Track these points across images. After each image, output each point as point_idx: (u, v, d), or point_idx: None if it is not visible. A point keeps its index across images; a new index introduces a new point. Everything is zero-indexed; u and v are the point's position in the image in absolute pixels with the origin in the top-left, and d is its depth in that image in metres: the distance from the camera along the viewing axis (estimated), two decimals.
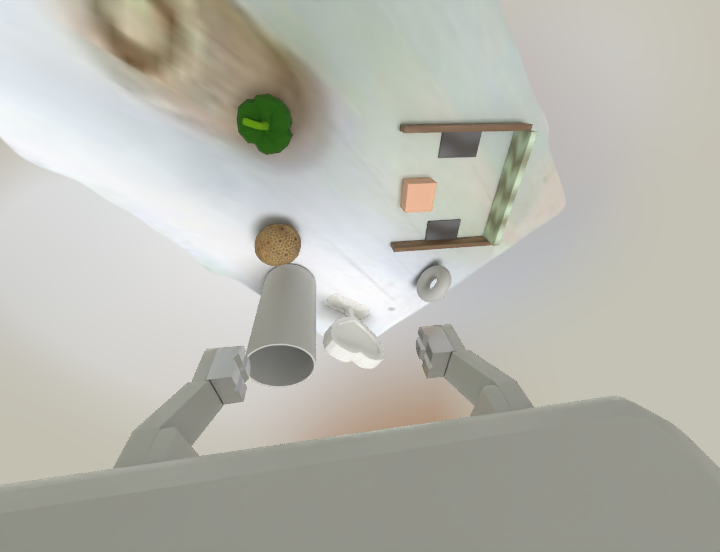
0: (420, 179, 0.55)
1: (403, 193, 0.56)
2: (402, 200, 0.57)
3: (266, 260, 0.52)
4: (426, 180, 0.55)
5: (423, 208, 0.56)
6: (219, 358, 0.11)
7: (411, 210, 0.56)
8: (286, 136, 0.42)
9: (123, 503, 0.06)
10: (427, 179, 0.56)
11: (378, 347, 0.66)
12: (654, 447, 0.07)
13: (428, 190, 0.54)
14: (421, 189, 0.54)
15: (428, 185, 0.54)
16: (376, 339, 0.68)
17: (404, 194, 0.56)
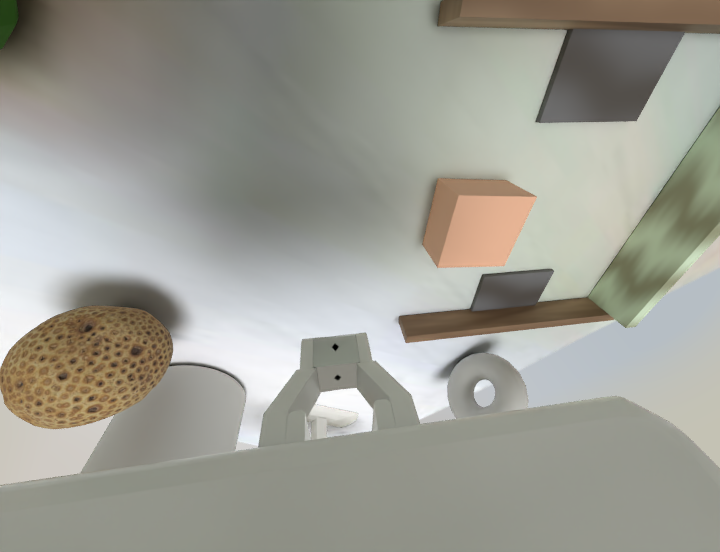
0: (484, 183, 0.21)
1: (435, 217, 0.22)
2: (430, 233, 0.23)
3: (34, 425, 0.17)
4: (503, 186, 0.20)
5: (485, 259, 0.22)
6: (318, 347, 0.11)
7: (454, 263, 0.21)
8: None
9: (123, 503, 0.06)
10: (502, 184, 0.21)
11: None
12: (654, 447, 0.07)
13: (509, 215, 0.20)
14: (492, 211, 0.19)
15: (513, 203, 0.19)
16: None
17: (440, 221, 0.21)
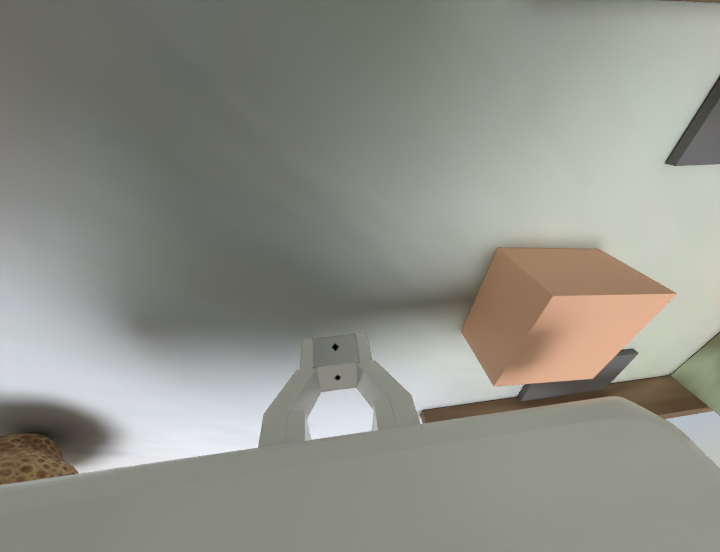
0: (572, 258, 0.13)
1: (491, 305, 0.14)
2: (478, 324, 0.15)
3: None
4: (606, 266, 0.13)
5: (568, 373, 0.14)
6: (318, 347, 0.11)
7: (520, 379, 0.14)
8: None
9: (123, 503, 0.06)
10: (600, 259, 0.13)
11: None
12: (654, 447, 0.07)
13: (624, 319, 0.12)
14: (600, 315, 0.11)
15: (637, 303, 0.11)
16: None
17: (501, 316, 0.13)
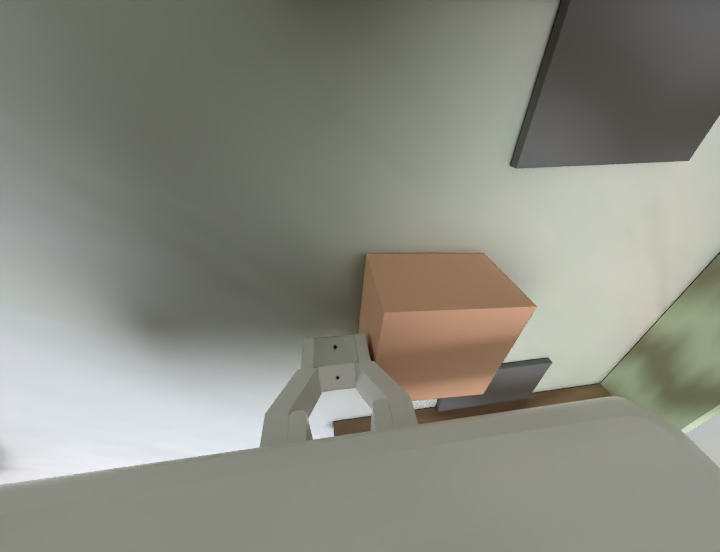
0: (445, 266, 0.12)
1: (366, 317, 0.13)
2: None
3: None
4: (477, 276, 0.12)
5: (450, 389, 0.13)
6: (319, 347, 0.11)
7: None
8: None
9: (123, 503, 0.06)
10: (476, 268, 0.12)
11: None
12: (654, 447, 0.07)
13: (487, 334, 0.11)
14: (454, 331, 0.10)
15: (493, 317, 0.10)
16: None
17: (369, 330, 0.12)
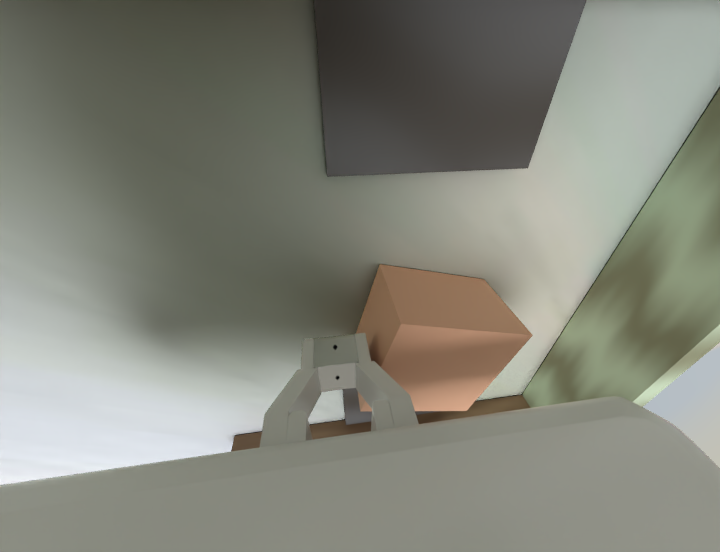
0: (451, 287, 0.13)
1: (369, 325, 0.13)
2: None
3: None
4: (480, 300, 0.12)
5: (439, 403, 0.13)
6: (319, 347, 0.11)
7: None
8: None
9: (123, 503, 0.06)
10: (479, 292, 0.13)
11: None
12: (654, 447, 0.07)
13: (485, 355, 0.12)
14: (457, 349, 0.11)
15: (494, 340, 0.11)
16: None
17: (373, 338, 0.12)
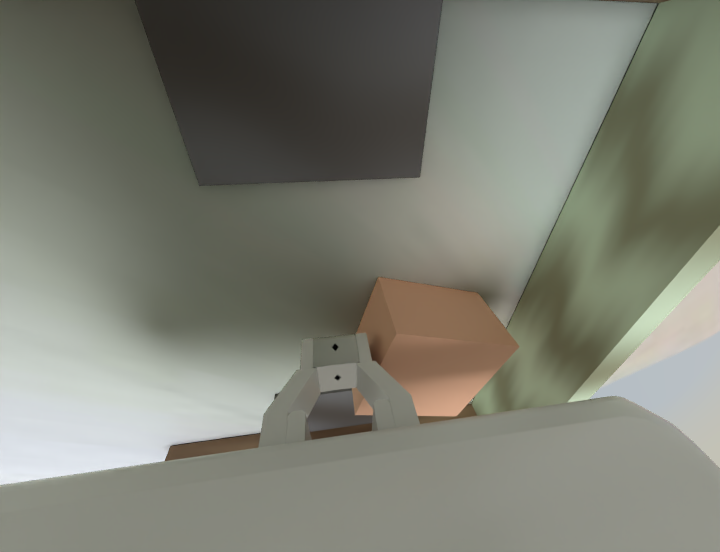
0: (445, 298, 0.13)
1: (366, 332, 0.14)
2: None
3: None
4: (471, 311, 0.13)
5: (430, 409, 0.14)
6: (318, 347, 0.11)
7: None
8: None
9: (123, 503, 0.06)
10: (471, 303, 0.14)
11: None
12: (654, 447, 0.07)
13: (475, 364, 0.12)
14: (449, 358, 0.12)
15: (483, 350, 0.12)
16: None
17: (369, 345, 0.13)
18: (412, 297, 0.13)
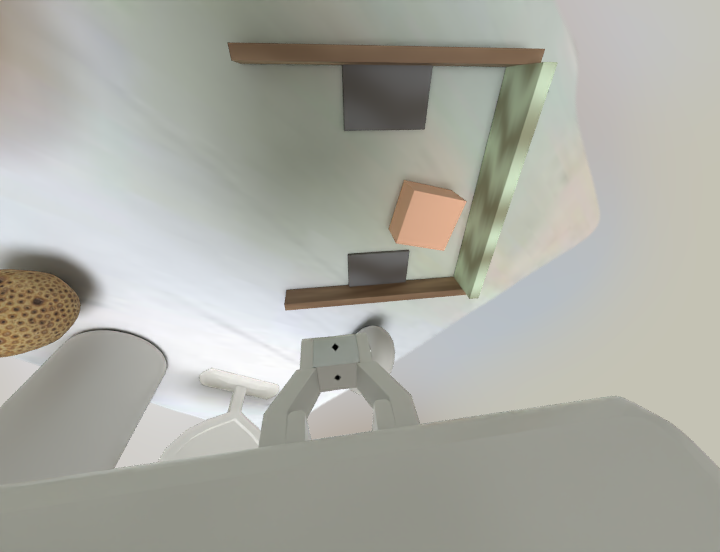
0: (435, 188, 0.29)
1: (399, 207, 0.30)
2: (394, 219, 0.31)
3: None
4: (447, 192, 0.29)
5: (430, 242, 0.30)
6: (318, 347, 0.11)
7: (408, 241, 0.30)
8: None
9: (123, 503, 0.06)
10: (447, 191, 0.30)
11: None
12: (654, 447, 0.07)
13: (448, 211, 0.28)
14: (436, 206, 0.28)
15: (451, 202, 0.28)
16: None
17: (401, 209, 0.29)
18: (420, 186, 0.29)
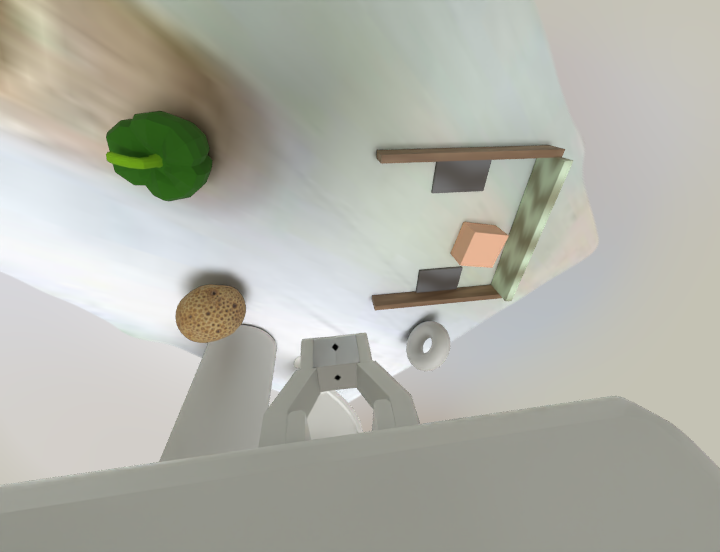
0: (485, 226, 0.43)
1: (460, 240, 0.44)
2: (456, 248, 0.45)
3: (190, 338, 0.37)
4: (494, 229, 0.43)
5: (483, 263, 0.44)
6: (318, 347, 0.11)
7: (468, 263, 0.43)
8: (193, 175, 0.27)
9: (123, 503, 0.06)
10: (493, 227, 0.43)
11: (356, 429, 0.51)
12: (654, 447, 0.07)
13: (496, 243, 0.42)
14: (488, 240, 0.41)
15: (498, 237, 0.41)
16: (354, 416, 0.53)
17: (463, 242, 0.43)
18: (475, 226, 0.42)
